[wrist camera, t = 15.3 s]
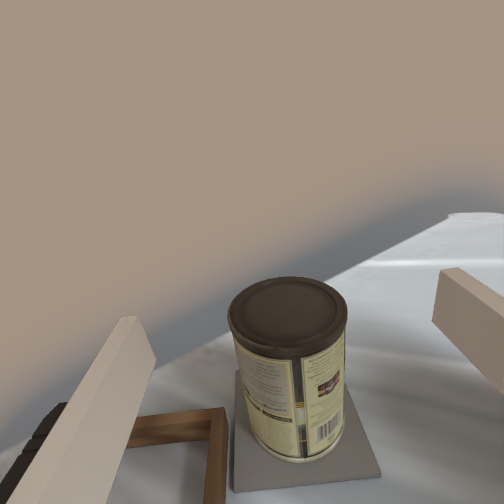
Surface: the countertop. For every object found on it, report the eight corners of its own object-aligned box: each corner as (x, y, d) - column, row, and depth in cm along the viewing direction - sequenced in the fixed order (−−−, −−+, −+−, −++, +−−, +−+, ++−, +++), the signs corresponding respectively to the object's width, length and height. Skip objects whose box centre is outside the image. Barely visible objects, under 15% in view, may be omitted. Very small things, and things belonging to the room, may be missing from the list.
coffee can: (272, 362, 36) (261, 269, 31) (353, 390, 31) (358, 285, 25) (229, 434, 29) (202, 327, 23) (329, 487, 23) (327, 367, 18)
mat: (335, 362, 36) (335, 358, 36) (381, 476, 24) (381, 472, 24) (236, 373, 36) (236, 370, 36) (234, 493, 24) (233, 489, 24)
